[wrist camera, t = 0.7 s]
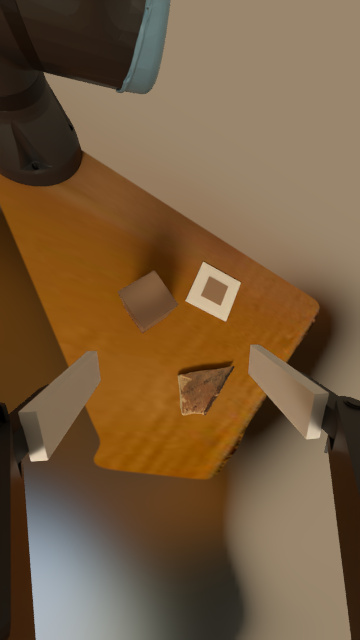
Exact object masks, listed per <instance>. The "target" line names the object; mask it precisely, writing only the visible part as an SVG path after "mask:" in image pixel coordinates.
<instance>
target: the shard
mask: <svg viewBox="0 0 360 640" xmlns="http://www.w3.org/2000/svg"><path fill="white" fill-rule="evenodd" d="M233 368H234V366H230V367H225V368H221V369H215V370H212V369H211V370H203V371H198V372H190V373H187V374H182V375H178V382H179V389H180V408H181V411H182V414H183V415H188V414H193V413H200V414H203V415H206V414H207V412H208V411H209V409H210V408H211V406H212V404H213V402H214V401H215V399H216V398H217V396H218V394H219V393H220V391H221V389H222V388H223V386H224V384H225V382H226V380H227V378H228V376H229V375H230V373H231V372H232V370H233Z"/></svg>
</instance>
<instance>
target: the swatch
mask: <svg viewBox="0 0 360 640" xmlns="http://www.w3.org/2000/svg"><path fill="white" fill-rule="evenodd" d="M240 284H241V282H239V281H237V280H235V279H233V278H232V277H230V276H228V275H226V274H224V273H223V272H221V271H219V270H217V269H216V268H214V267H212V266H210V265H208V264H207V263H205V262H203V263H202V265H201V267H200V270H199V272H198V274H197V276H196V279H195V281H194V283H193V285H192V287H191V290H190V292H189V294H188V296H187V298H186V302H188V303H190V304H192V305H194V306H196V307H198V308H200V309H202V310H204V311H206V312H208V313H210V314H212V315H214V316H216V317H218V318H220V319H222V320H224V321H226V320H227V318H228V315H229V312H230V310H231V307H232V305H233V302H234V299H235V297H236V294H237V291H238V289H239V286H240Z"/></svg>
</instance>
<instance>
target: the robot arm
mask: <svg viewBox="0 0 360 640" xmlns="http://www.w3.org/2000/svg"><path fill="white" fill-rule="evenodd" d="M169 8H170V0H0V174H2V175H3V176H5V177H7V178H8V179H11V180H13V181H15V182H18V183H21V184H25V185H31V186H49V185H54V184H58V183H60V182H63V181H65V180H67V179H68V178H70V177H71V176H72V175H73V174H74V173H75V172H76V170H77V169H78V167H79V165H80V162H81V147H80V144H79V141H78V138H77V134H76V132H75V129H74V127H73V125H72V123H71V121H70V120H69V118H68V117H67V115H66V114H65V112H64V110H63V108H62V106H61V104H60V103H59V101H58V100H57V98H56V96H55V95H54V93H53V91H52V89H51V88H50V86H49V84H48V83H47V81H46V79H45V76H44V73H43V72H46V73H50V74H53V75H57V76H62V77H66V78H70V79H75V80H78V81H83V82H87V83H92V84H95V85H99V86H104V87H108V88H112V89H116V91H117V92H118V93H123V92H124V91H126V92H132V93H138V94H146V93H148V92H149V91H150V90H151V89H152V87H153V85H154V84H155V82H156V79H157V76H158V72H159V69H160V64H161V59H162V55H163V49H164V43H165V37H166V29H167V23H168V16H169ZM248 374H249V375H250V376H251V377H252V378H253V379H254V380H255V382H256V383H257V384H258V385H259V386H260V387H261V388H262V389H263V391H264V392H265V393H266V394H267V395H268V396H269V397H270V399H271V400H272V401H273V402H274V403H275V404H276V405H277V407H278V408H279V409H280V410H281V411H282V412H283V413H284V414H285V416H286V417H287V418H288V419H289V420H290V421H291V423H292V424H293V425H294V426H295V427H296V428H297V429H298V431H299V432H300V433H301V434H302V435H303V436H304V437H305V439H315V438H320V433H321V429H323V430H324V431H325V432H326V433H327V434H328V438H327V442H326V446H325V451H324V452H325V453H327V452H328V454H329V462H330V470H331V478H332V486H333V494H334V502H335V510H336V518H337V527H338V535H339V543H340V550H341V558H342V566H343V574H344V582H345V590H346V599H347V606H348V615H349V623H350V631H351V640H360V401H359V400H356V399H354V398H351V397H346V396H338V395H336V394H335V393H333V392H332V391H330V390H329V389H327V388H326V387H324V386H323V385H321V384H319V383H318V382H317V381H315V380H313V379H312V378H311V377H309V376H308V375H306V374H304V373H302V372H299V371H296V370H295V369H294V368H292V367H291V366H289V365H288V364H286V363H285V362H284V361H282V360H281V359H279V358H278V357H276V356H275V355H273V354H272V353H271V352H269V351H268V350H266V349H265V348H263V347H262V346H260V345H251V348H250V359H249V371H248ZM100 381H101V379H100V372H99V364H98V357H97V351H87V352H86V353H85V354H84V355H83V356H81V357H80V358H79V359H78V360H77V361H76V362H75V363H73V364H72V365H71V366H70V367H69V368H68V369H67V370H66V371H64V372H63V373H62V374H61V375H60V376H59V377H58V378H56V380H54V381H53V382H52V383H51V384H48V385H45V386H44V387H42V388H40V389H38V390H37V391H36V392H35V393H33V394H32V395H31V397H29V398H27V399H26V400H25V402H23V403H22V404H20V405H19V406H18V407H17V408H16V409H15V410H13V411H12V412H11V413H10V414H8V411H7V408H6V405H5V403H0V640H36V638H35V624H34V610H33V597H32V583H31V568H30V554H29V541H28V527H27V513H26V499H25V485H24V471H23V464H22V459H23V458H24V456H25V455H26V454H27V453H28V452H29V455H30V459H31V461H43V460H48V459H49V458H50V456H51V455H52V453H53V452H54V450H55V449H56V447H57V446H58V444H59V443H60V441H61V440H62V438H63V437H64V435H65V433H66V432H67V430H68V429H69V428H70V426H71V425H72V423H73V422H74V420H75V419H76V417H77V416H78V414H79V413H80V411H81V410H82V408H83V407H84V405H85V404H86V402H87V401H88V399H89V398H90V396H91V395H92V393H93V392H94V390H95V389H96V387H97V386H98V384H99V383H100Z"/></svg>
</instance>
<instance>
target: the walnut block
mask: <svg viewBox="0 0 360 640" xmlns="http://www.w3.org/2000/svg"><path fill="white" fill-rule="evenodd" d="M118 294H119V296H120V298H121V300H122V303H123V305H124V307H125V309H126V311H127V312H128V314H129V315H130V317H131V318H132V319H133V321H134V322H135V324H136V325H137V327H138V328H139V329H140V331H141V332H142V333H144V332H145V331H147V330H148V329H149V328H151V327H152V326H154V325H155V324H157V323H158V322H160V321H161V320H163V319H164V318H166V317H167V316H168V315H169V314H170V313H171V311H172V310H173V309H174V308H175V307H176V306H177V305H178V303H177V302H176V300H175V299H174V298H173V296H172V295H171V293H170V292H169V290H168V289H167V287H166V286H165V285H164V283H163V282H162V280H161V279H160V277H159V276H158V275H157V273H156V272H155V270H154V271H152V272H151V273H149V274H147V275H145V276H144V277H142V278H140V279H138V280H137V281H135V282H133V283H132V284H130V285H128V286H126V287H125V288H123V289H121V290H119V291H118Z"/></svg>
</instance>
